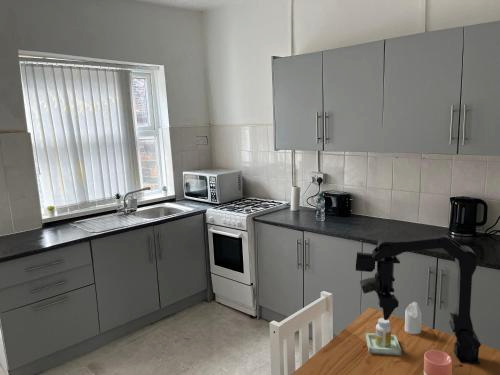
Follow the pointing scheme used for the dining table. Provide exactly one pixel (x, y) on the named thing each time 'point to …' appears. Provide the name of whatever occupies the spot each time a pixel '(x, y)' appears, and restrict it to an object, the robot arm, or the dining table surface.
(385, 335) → the supplement bottle
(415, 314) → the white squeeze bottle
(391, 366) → the dining table surface
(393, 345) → the tray
